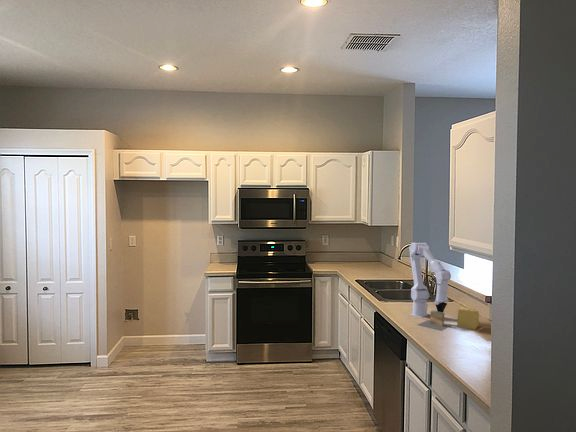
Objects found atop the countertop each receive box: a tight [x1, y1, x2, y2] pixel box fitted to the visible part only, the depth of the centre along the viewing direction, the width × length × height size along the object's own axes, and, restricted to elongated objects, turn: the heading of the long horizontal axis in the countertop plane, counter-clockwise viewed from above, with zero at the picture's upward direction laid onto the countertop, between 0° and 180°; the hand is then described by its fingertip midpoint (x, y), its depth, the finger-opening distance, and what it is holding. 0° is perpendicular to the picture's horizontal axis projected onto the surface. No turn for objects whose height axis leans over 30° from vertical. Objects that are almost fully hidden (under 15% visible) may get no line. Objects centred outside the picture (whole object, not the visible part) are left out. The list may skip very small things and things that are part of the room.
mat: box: [417, 319, 453, 332], centre depth 267 cm, size 16×14×1 cm
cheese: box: [456, 305, 480, 330], centre depth 269 cm, size 10×11×10 cm
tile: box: [429, 310, 445, 326], centre depth 269 cm, size 2×7×7 cm, turn 50°
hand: (440, 315), depth 272 cm, fingers closed
